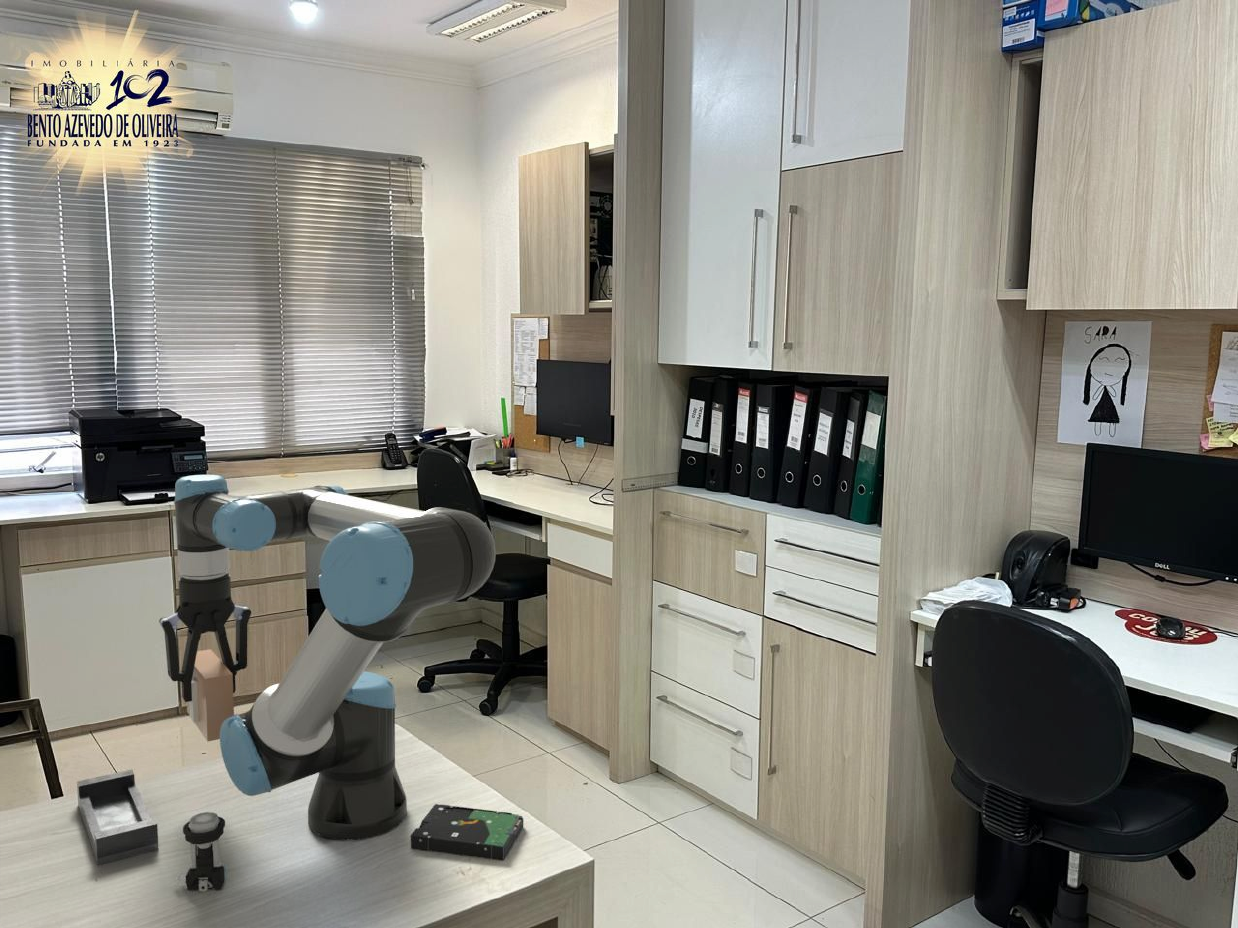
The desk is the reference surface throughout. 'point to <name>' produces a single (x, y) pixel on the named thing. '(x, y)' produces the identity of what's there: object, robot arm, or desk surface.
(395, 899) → the desk surface
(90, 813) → the dark grey tray
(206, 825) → the push button
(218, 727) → the orange rectangular block
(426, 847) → the disk drive
